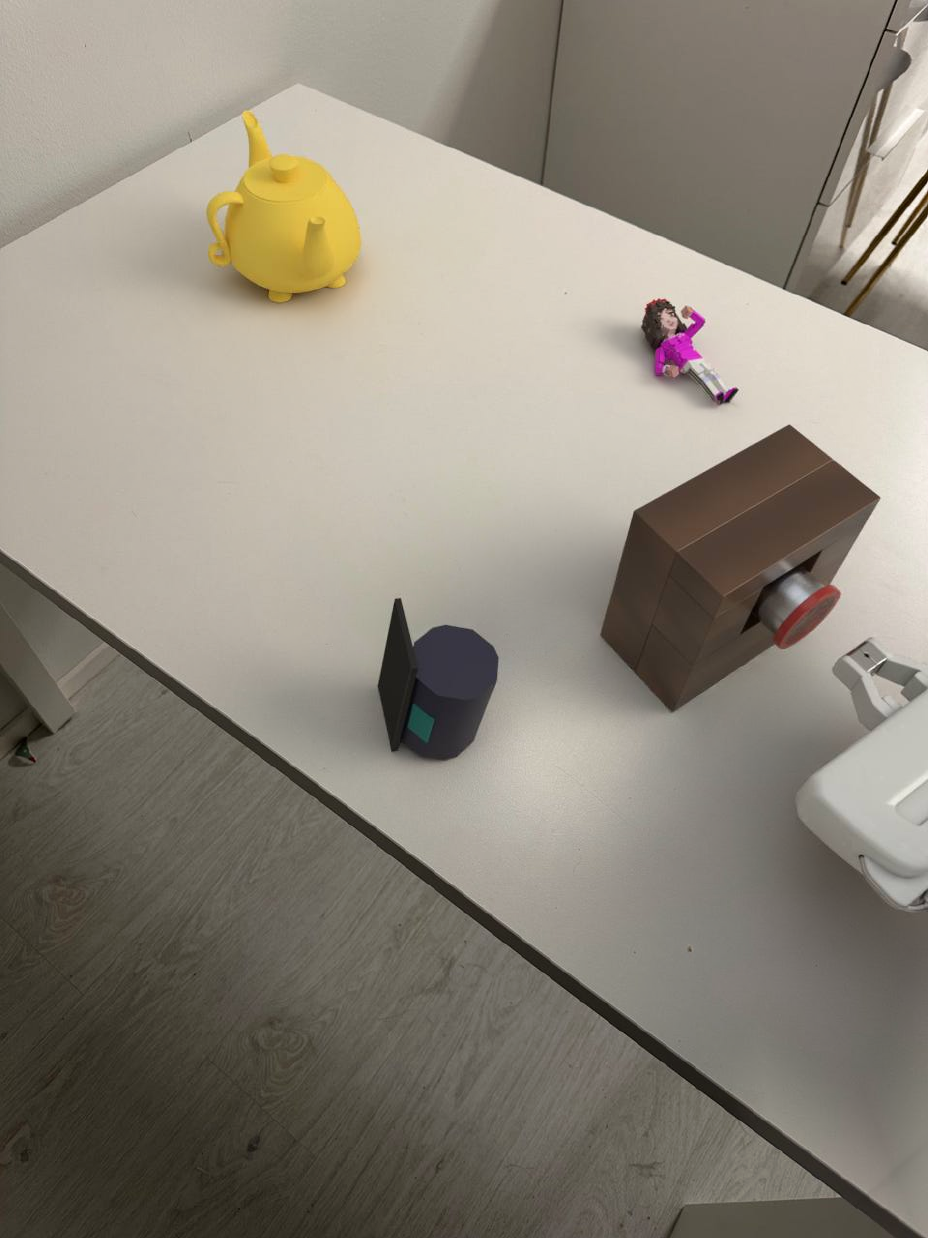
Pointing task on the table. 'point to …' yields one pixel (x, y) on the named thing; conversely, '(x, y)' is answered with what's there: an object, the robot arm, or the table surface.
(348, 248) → the teapot
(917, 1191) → the table surface
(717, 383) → the character figurine
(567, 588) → the table surface
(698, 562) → the control box
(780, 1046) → the table surface
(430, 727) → the speaker
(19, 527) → the table surface
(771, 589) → the knob
